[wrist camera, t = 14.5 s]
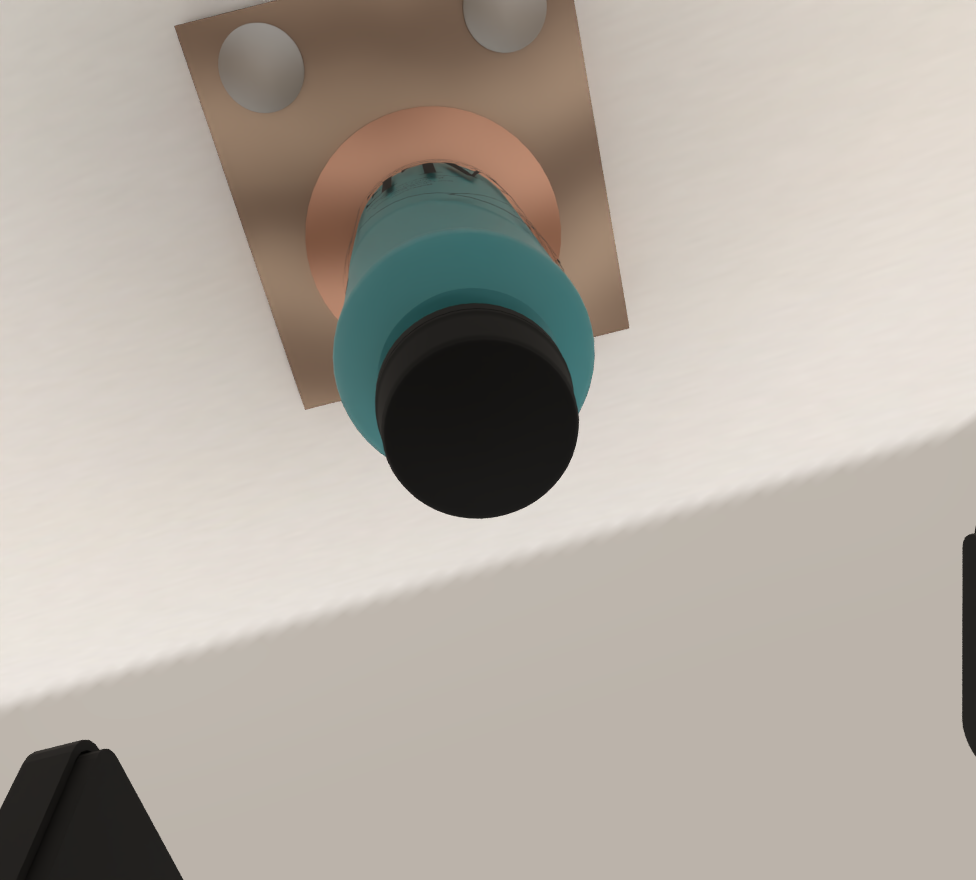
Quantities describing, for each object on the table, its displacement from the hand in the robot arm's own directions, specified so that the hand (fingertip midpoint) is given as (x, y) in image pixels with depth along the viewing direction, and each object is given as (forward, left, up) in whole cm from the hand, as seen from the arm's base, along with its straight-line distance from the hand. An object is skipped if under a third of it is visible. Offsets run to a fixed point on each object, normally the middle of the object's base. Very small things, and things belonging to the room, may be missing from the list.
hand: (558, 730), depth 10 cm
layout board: (-2, 0, -30) cm, 30 cm away
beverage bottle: (0, 0, -28) cm, 28 cm away
